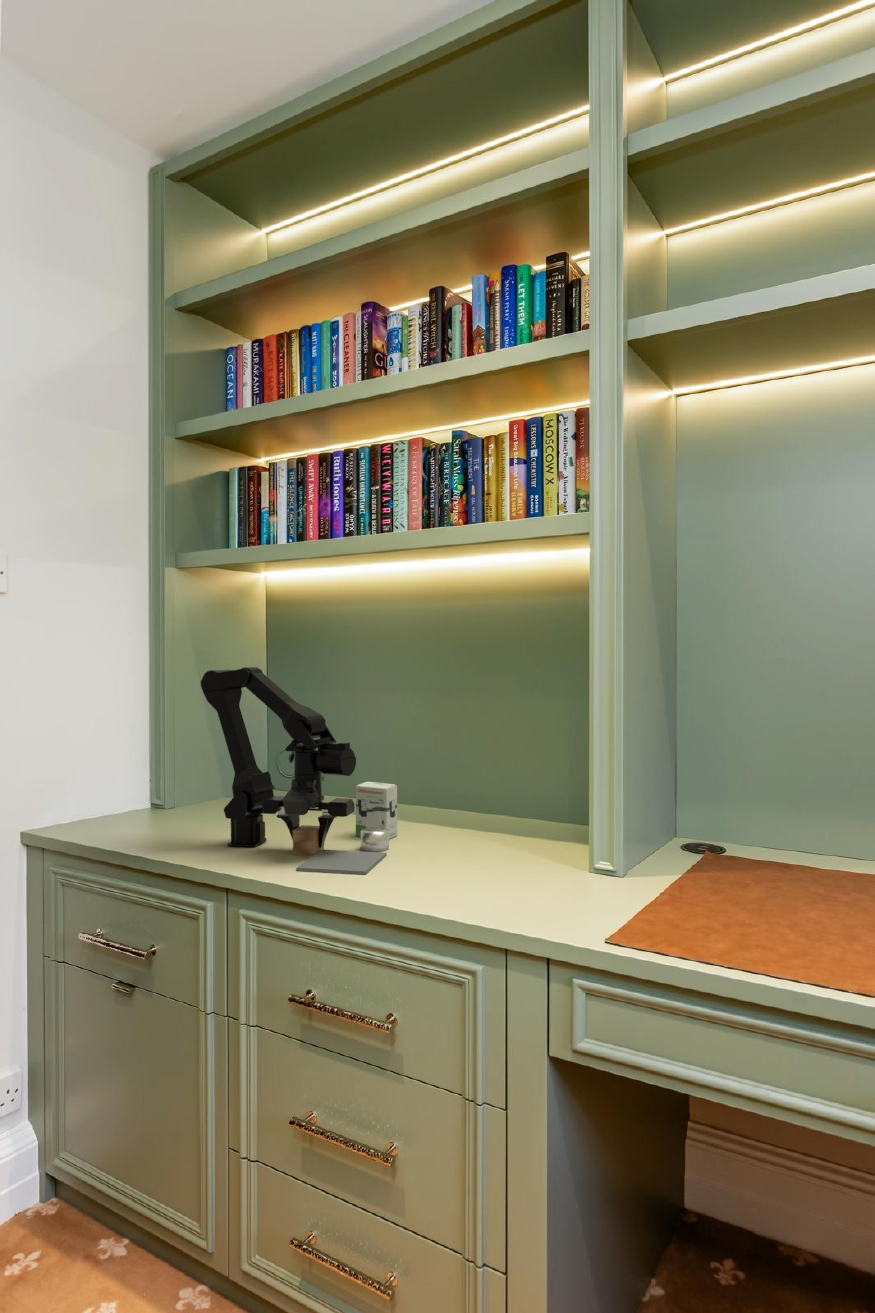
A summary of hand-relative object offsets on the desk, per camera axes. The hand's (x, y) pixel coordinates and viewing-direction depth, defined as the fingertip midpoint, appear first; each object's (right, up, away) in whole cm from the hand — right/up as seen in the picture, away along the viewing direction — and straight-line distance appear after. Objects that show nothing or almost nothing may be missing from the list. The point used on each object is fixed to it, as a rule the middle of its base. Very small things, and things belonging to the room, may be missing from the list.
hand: (308, 846), depth 168 cm
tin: (+14, -1, +2) cm, 14 cm away
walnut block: (0, -1, 0) cm, 1 cm away
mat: (+8, -1, -9) cm, 12 cm away
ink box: (+13, -1, +13) cm, 19 cm away
